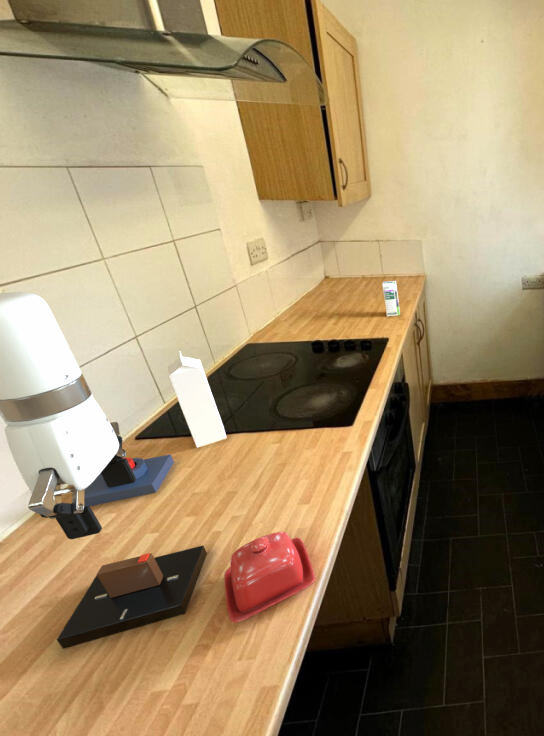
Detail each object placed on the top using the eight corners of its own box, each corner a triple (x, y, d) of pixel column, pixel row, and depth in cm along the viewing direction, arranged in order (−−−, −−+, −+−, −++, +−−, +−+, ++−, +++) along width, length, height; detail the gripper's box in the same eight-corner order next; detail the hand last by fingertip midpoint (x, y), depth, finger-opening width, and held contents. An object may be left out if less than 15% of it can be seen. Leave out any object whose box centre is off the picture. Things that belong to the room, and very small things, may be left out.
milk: (196, 448, 96) (162, 363, 87) (195, 436, 101) (161, 353, 92) (227, 438, 100) (197, 355, 91) (224, 427, 104) (195, 346, 95)
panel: (62, 649, 56) (55, 639, 55) (104, 579, 65) (98, 570, 65) (185, 614, 60) (180, 604, 59) (207, 553, 70) (203, 544, 69)
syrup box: (386, 316, 180) (381, 284, 174) (386, 312, 185) (382, 280, 179) (400, 315, 181) (395, 283, 175) (400, 311, 187) (396, 279, 181)
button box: (80, 508, 79) (71, 492, 78) (107, 475, 88) (99, 460, 86) (156, 492, 83) (148, 476, 81) (174, 462, 92) (168, 447, 90)
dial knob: (110, 598, 60) (95, 573, 58) (115, 588, 62) (101, 564, 60) (159, 585, 62) (146, 560, 60) (163, 576, 64) (151, 551, 61)
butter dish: (302, 539, 72) (291, 501, 69) (319, 588, 64) (307, 548, 60) (225, 574, 66) (208, 535, 63) (232, 634, 58) (213, 592, 54)
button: (108, 477, 82) (105, 470, 81) (117, 466, 85) (114, 459, 84) (130, 473, 83) (127, 466, 82) (138, 462, 86) (135, 455, 86)
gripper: (50, 372, 56) (104, 474, 63) (-59, 446, 41) (27, 569, 48) (119, 363, 58) (163, 462, 65) (39, 430, 43) (108, 549, 50)
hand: (106, 507), depth 56 cm, fingers open, 9 cm apart
